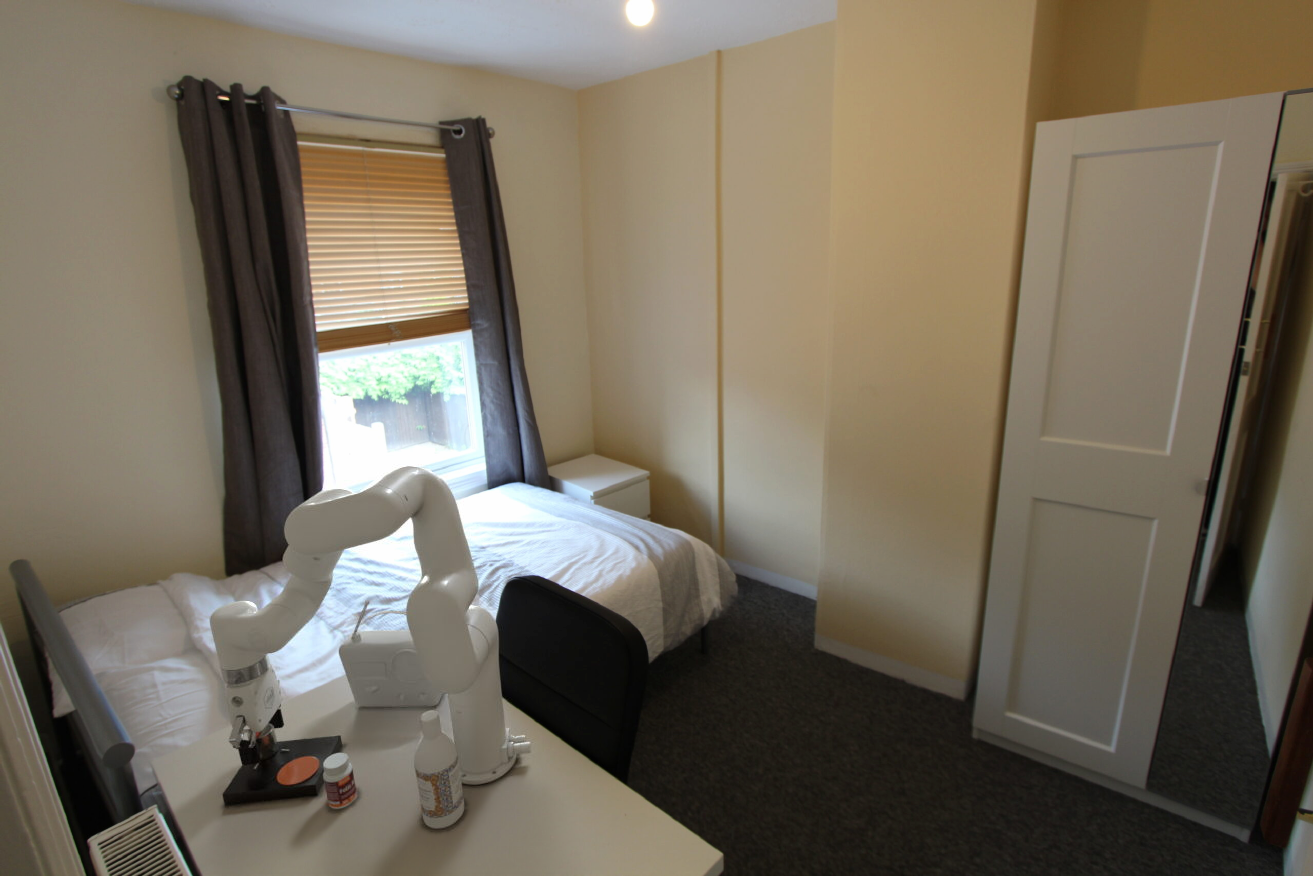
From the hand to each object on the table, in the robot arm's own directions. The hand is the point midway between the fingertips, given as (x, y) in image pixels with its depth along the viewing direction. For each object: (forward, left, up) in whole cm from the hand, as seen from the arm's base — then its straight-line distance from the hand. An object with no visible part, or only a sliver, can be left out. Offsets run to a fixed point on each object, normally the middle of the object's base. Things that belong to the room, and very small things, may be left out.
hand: (264, 744), depth 127 cm
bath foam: (-37, +17, -4) cm, 41 cm away
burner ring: (-8, +6, -2) cm, 10 cm away
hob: (-5, +3, -4) cm, 7 cm away
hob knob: (0, 0, -2) cm, 2 cm away
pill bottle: (-18, +11, -4) cm, 22 cm away
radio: (-21, -16, -4) cm, 27 cm away
